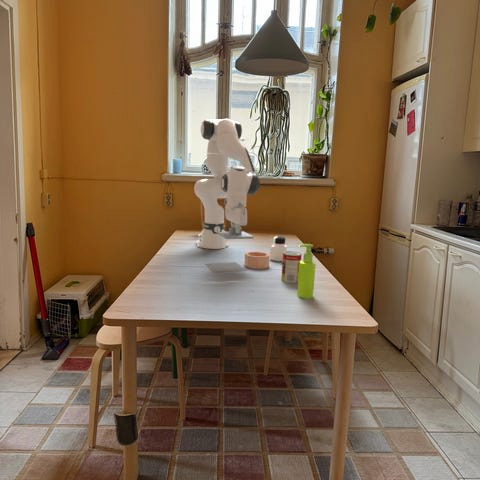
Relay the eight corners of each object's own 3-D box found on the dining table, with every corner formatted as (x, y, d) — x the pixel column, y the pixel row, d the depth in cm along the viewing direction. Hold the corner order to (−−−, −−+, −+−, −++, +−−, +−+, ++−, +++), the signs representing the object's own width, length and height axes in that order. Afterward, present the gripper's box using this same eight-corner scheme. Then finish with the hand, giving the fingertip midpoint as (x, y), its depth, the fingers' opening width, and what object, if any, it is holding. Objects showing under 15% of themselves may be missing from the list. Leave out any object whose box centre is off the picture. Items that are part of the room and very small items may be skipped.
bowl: (241, 264, 199) (242, 252, 198) (262, 263, 203) (263, 251, 201) (250, 269, 189) (251, 257, 187) (271, 268, 193) (272, 256, 191)
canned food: (297, 278, 179) (299, 251, 176) (301, 283, 171) (303, 255, 169) (280, 277, 178) (281, 250, 176) (282, 282, 171) (284, 254, 168)
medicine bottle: (286, 258, 214) (287, 236, 212) (283, 261, 207) (284, 238, 205) (273, 257, 216) (274, 235, 214) (269, 260, 210) (271, 237, 207)
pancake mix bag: (228, 236, 272) (229, 194, 266) (199, 235, 270) (200, 193, 265) (227, 234, 278) (229, 193, 273) (199, 233, 277) (201, 192, 271)
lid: (217, 233, 192) (217, 225, 192) (243, 233, 197) (243, 225, 196) (226, 239, 180) (226, 230, 180) (253, 238, 185) (253, 229, 184)
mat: (204, 264, 194) (204, 263, 194) (235, 263, 200) (235, 262, 200) (214, 273, 180) (214, 272, 180) (247, 271, 185) (247, 270, 185)
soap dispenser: (293, 293, 157) (296, 242, 153) (310, 293, 158) (314, 243, 154) (296, 298, 151) (300, 245, 148) (314, 298, 152) (318, 246, 148)
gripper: (251, 205, 177) (249, 236, 180) (235, 200, 196) (234, 228, 199) (238, 205, 175) (236, 236, 178) (223, 200, 194) (222, 228, 196)
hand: (235, 232), depth 188 cm, fingers closed on lid, 3 cm apart
